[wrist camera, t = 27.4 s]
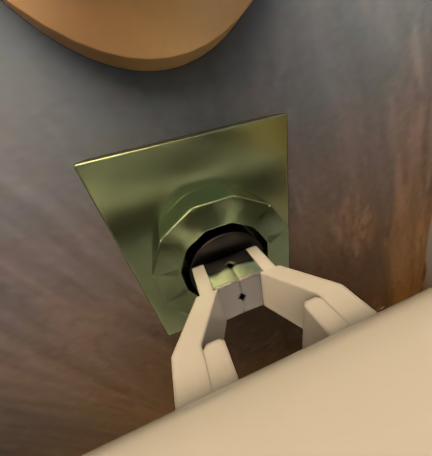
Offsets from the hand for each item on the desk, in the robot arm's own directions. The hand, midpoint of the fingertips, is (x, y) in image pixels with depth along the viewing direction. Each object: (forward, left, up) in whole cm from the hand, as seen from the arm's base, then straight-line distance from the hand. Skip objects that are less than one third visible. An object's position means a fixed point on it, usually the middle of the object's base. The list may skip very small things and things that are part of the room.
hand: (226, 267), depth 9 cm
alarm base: (0, 0, -4) cm, 4 cm away
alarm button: (0, 0, -2) cm, 2 cm away
